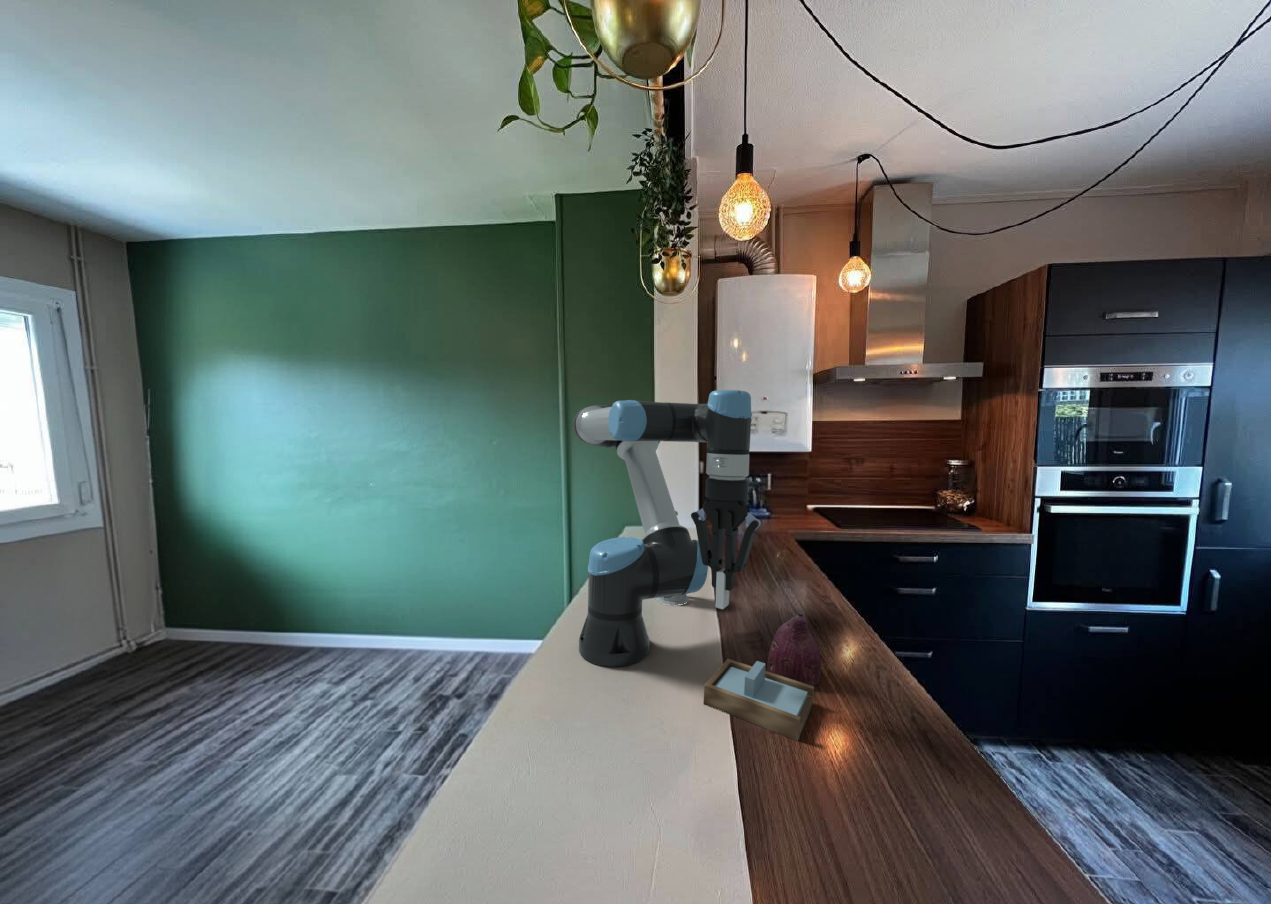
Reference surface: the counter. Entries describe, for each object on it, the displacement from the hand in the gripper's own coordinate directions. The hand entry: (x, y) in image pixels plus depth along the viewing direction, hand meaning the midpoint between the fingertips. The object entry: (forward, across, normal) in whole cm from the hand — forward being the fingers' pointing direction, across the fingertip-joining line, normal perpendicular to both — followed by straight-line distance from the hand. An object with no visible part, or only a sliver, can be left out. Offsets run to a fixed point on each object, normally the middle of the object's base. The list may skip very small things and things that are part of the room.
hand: (722, 605), depth 82 cm
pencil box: (+16, +7, 0) cm, 18 cm away
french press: (+16, -27, +34) cm, 46 cm away
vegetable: (+16, +10, +14) cm, 24 cm away
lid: (+14, +8, 0) cm, 16 cm away
